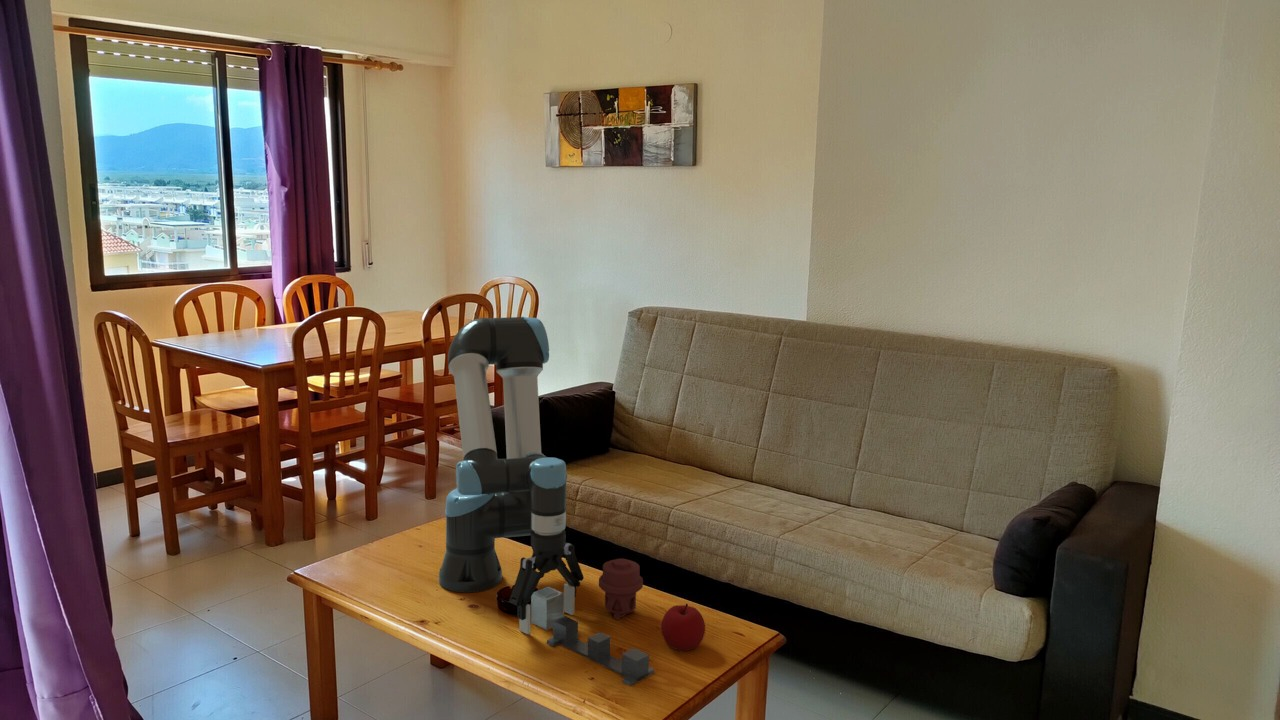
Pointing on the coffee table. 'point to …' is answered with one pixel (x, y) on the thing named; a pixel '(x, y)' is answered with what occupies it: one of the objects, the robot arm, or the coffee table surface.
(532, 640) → the coffee table surface
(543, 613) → the block
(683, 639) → the apple
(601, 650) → the rail
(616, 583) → the mechanical component
